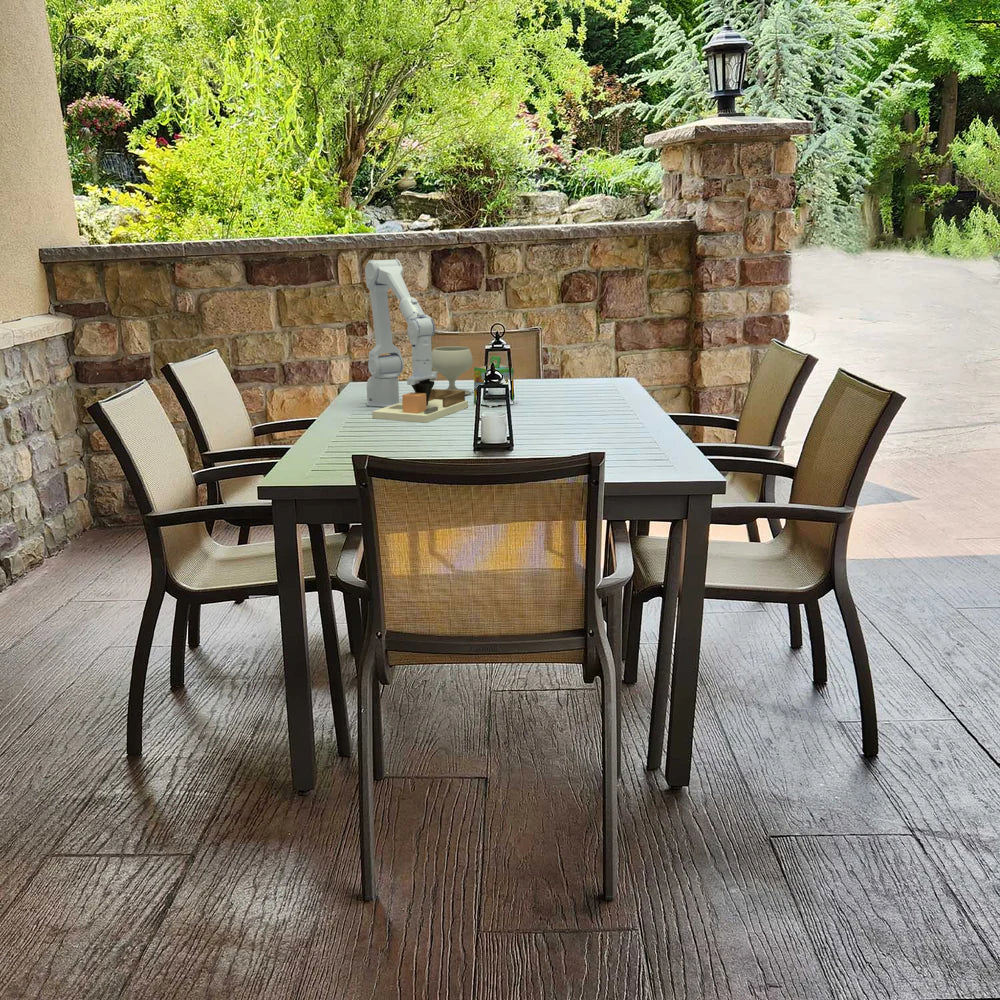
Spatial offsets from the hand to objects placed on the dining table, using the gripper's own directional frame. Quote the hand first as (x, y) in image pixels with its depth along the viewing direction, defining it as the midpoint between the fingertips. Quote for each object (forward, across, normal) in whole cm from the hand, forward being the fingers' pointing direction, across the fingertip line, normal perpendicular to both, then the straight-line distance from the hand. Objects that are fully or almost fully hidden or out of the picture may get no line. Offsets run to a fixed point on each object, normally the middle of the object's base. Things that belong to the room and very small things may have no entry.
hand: (423, 405), depth 295 cm
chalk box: (+3, +24, -11) cm, 27 cm away
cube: (+1, -5, 0) cm, 5 cm away
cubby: (+1, +10, 0) cm, 10 cm away
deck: (+3, +3, +2) cm, 5 cm away
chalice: (+3, +36, +10) cm, 37 cm away
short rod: (+1, -5, -5) cm, 7 cm away
